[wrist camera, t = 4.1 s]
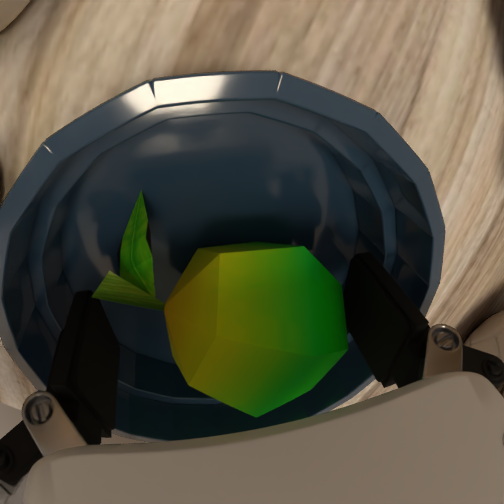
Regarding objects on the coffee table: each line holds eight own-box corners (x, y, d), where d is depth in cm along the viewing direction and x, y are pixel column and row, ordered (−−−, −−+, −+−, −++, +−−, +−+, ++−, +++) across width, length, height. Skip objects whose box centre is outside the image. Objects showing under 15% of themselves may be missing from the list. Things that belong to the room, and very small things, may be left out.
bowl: (104, 380, 16) (101, 453, 12) (2, 118, 8) (-81, 160, 4) (344, 341, 19) (378, 403, 15) (391, 82, 10) (485, 105, 6)
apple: (381, 421, 8) (69, 423, 5) (279, 400, 14) (84, 381, 10) (384, 222, 11) (133, 127, 7) (290, 262, 16) (114, 215, 12)
